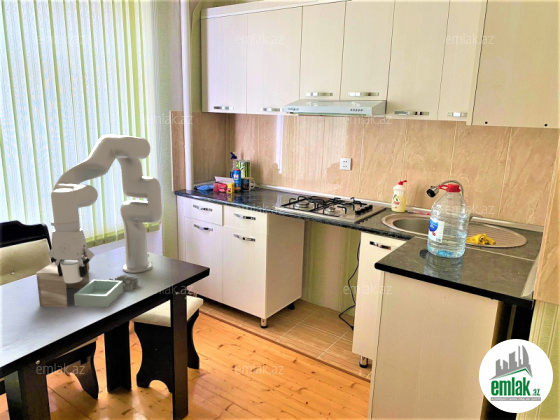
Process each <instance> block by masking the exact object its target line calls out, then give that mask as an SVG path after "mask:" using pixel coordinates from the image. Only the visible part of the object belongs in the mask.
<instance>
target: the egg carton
mask: <svg viewBox="0 0 560 420" xmlns="http://www.w3.org/2000/svg"><path fill="white" fill-rule="evenodd" d="M108 280H114V281H123V290H124V292H130V291H133V289H134V288H138V287H139V280H140V277H138V278H137V277H134V276H128V275H126V274H122V275H120V276H118V277H115V278H114V279H113V278H108Z"/></svg>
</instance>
